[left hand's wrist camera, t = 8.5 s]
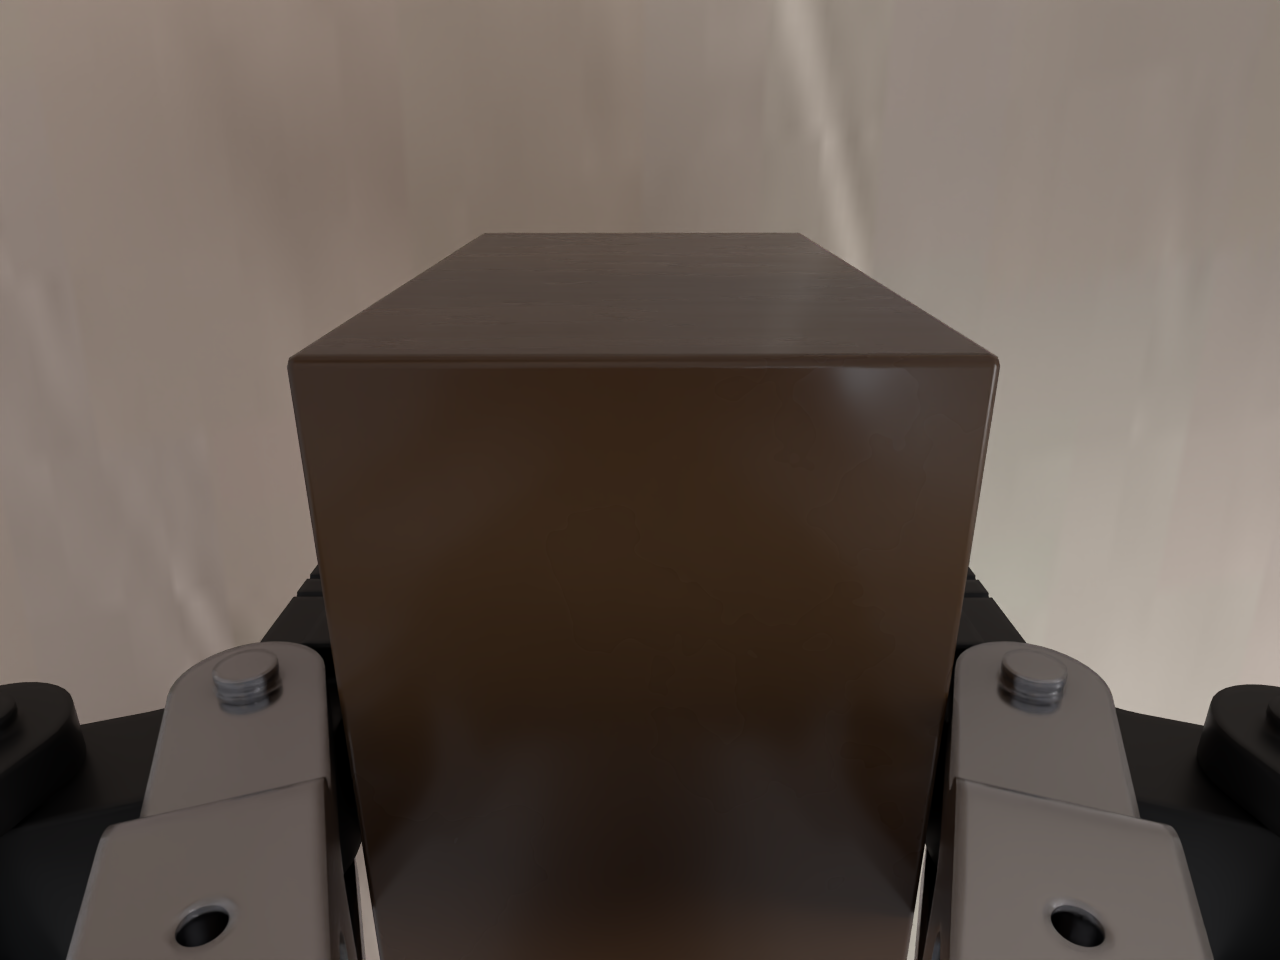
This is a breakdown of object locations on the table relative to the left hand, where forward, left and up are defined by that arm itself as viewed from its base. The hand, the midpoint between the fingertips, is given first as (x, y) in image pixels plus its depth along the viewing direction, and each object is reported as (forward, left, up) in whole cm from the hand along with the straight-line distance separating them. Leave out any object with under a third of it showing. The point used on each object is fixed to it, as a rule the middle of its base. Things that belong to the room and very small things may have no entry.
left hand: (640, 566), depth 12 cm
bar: (+9, 0, -3) cm, 9 cm away
